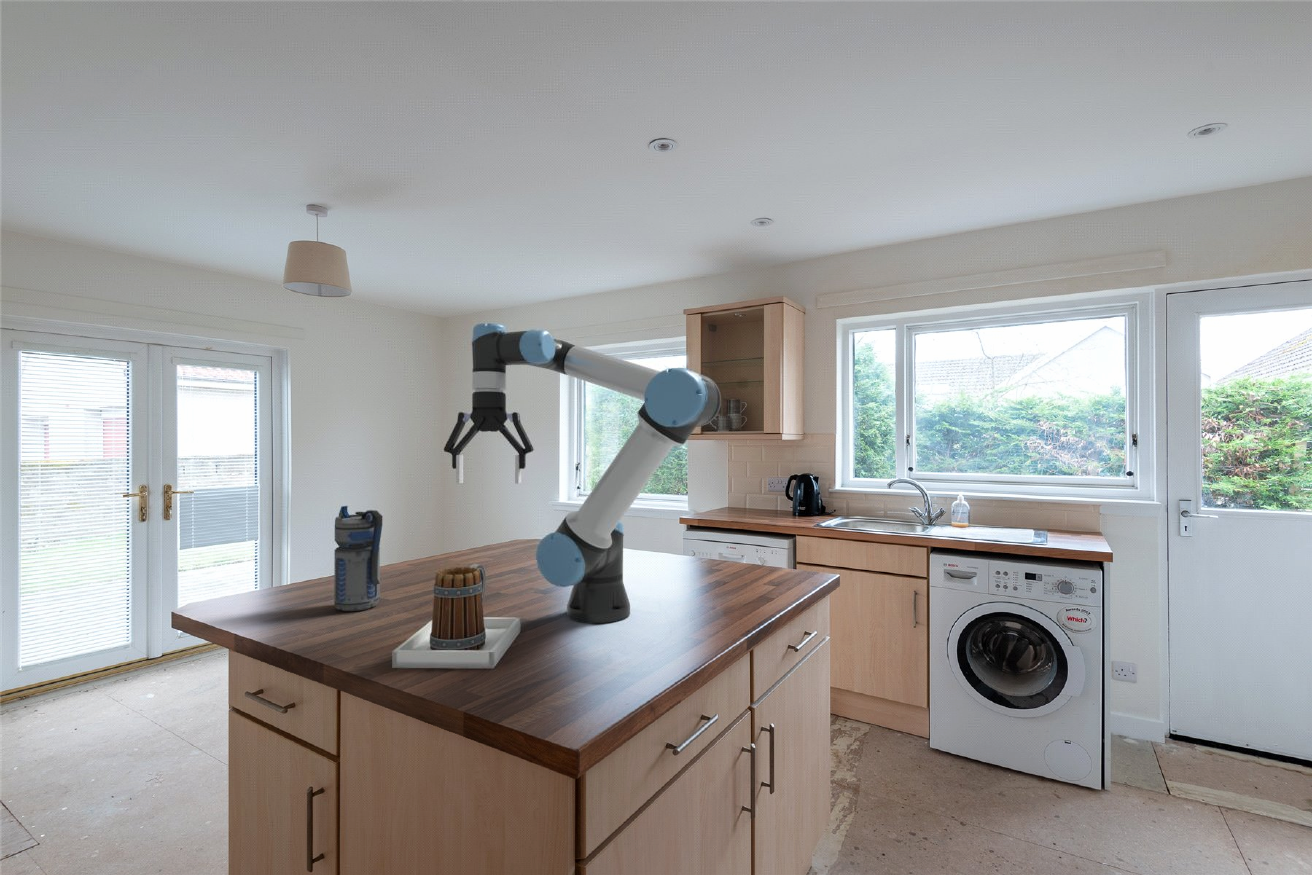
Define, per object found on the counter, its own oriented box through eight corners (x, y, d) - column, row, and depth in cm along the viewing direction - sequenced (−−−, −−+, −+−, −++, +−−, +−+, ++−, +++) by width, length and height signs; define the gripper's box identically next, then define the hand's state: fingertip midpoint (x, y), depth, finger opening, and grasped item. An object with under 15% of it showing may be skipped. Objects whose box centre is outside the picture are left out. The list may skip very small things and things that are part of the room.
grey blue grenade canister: (362, 615, 145) (363, 510, 145) (322, 609, 150) (322, 507, 150) (395, 605, 155) (396, 506, 155) (357, 599, 160) (357, 503, 160)
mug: (469, 658, 114) (469, 578, 114) (418, 654, 116) (418, 575, 116) (505, 632, 130) (506, 561, 130) (459, 629, 132) (460, 559, 132)
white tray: (520, 631, 134) (520, 617, 134) (493, 668, 112) (493, 651, 112) (435, 630, 134) (435, 617, 134) (392, 667, 113) (392, 651, 113)
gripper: (545, 392, 146) (545, 482, 146) (441, 392, 146) (441, 481, 146) (539, 390, 138) (539, 484, 138) (429, 390, 139) (429, 484, 139)
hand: (488, 483), depth 142 cm, fingers open, 13 cm apart
